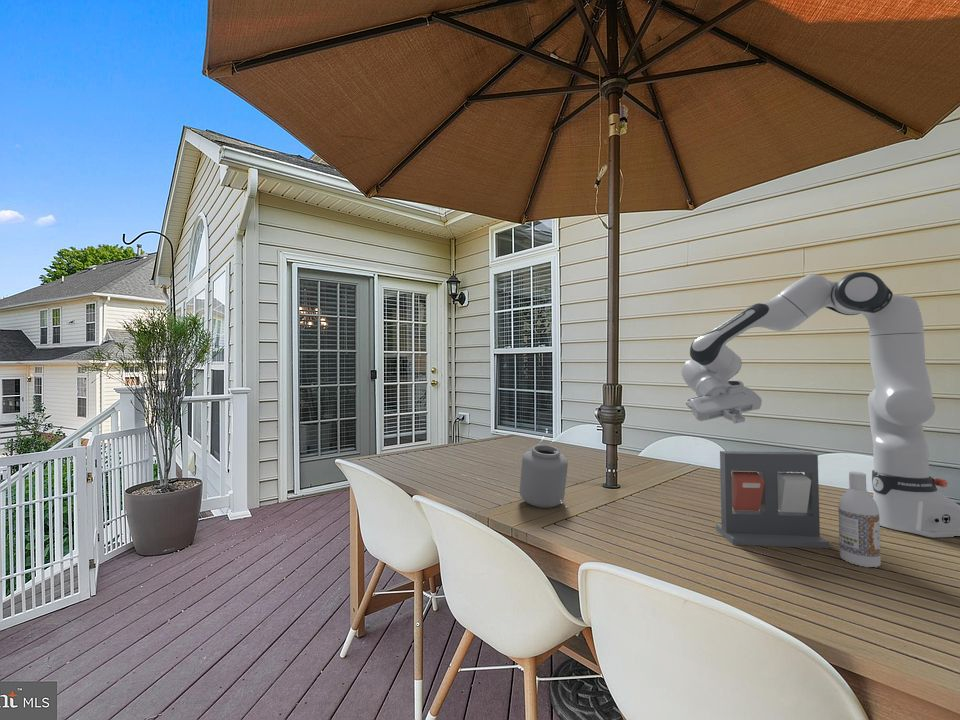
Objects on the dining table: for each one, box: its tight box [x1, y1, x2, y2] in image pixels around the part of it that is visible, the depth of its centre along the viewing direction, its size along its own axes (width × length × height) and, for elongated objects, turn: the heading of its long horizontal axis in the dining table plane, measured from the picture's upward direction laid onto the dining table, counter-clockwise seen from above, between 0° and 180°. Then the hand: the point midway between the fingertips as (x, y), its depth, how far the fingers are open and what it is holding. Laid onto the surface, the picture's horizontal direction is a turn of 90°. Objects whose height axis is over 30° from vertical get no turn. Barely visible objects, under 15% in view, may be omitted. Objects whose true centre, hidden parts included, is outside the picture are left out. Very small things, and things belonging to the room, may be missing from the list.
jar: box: [519, 428, 569, 509], centre depth 141 cm, size 19×15×25 cm
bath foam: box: [837, 471, 882, 568], centre depth 98 cm, size 7×7×20 cm
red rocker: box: [731, 471, 764, 511], centre depth 112 cm, size 6×4×9 cm
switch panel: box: [715, 450, 830, 549], centre depth 111 cm, size 22×10×22 cm, turn 82°
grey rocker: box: [777, 472, 811, 513], centre depth 110 cm, size 6×4×9 cm, turn 82°
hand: (740, 421), depth 129 cm, fingers closed
